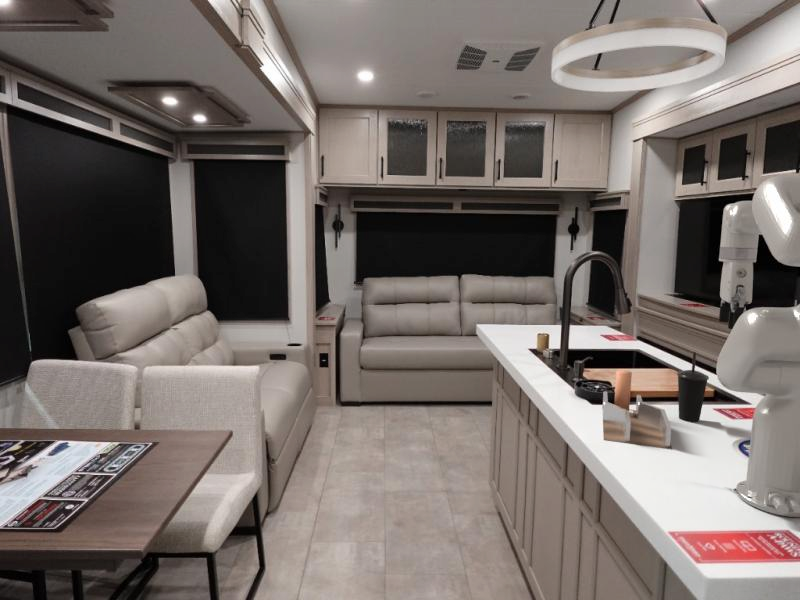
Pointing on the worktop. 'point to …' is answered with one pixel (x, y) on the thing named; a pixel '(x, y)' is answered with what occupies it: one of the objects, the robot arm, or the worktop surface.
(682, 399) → the drinking cup
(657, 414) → the bent rails
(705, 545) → the worktop surface
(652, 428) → the channel board
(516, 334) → the worktop surface
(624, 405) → the peg
